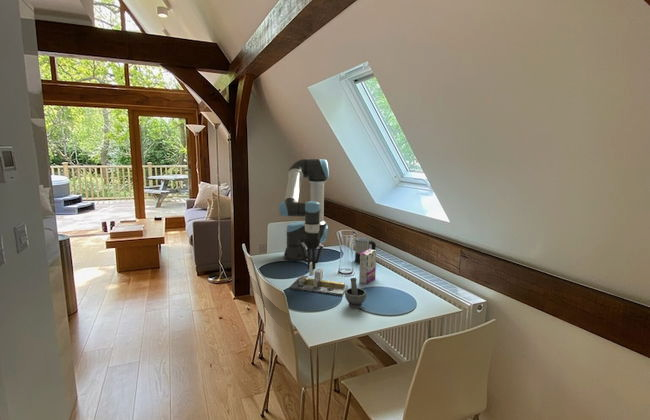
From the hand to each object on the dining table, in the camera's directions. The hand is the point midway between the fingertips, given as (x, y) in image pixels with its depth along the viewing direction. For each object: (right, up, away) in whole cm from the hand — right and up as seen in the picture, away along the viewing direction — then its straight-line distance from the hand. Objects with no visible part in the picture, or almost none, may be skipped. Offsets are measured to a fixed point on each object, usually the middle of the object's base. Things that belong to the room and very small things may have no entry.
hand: (311, 274), depth 185 cm
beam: (+5, -5, -3) cm, 7 cm away
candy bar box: (+31, -5, +9) cm, 32 cm away
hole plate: (+4, -6, -3) cm, 8 cm away
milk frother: (+31, +2, +45) cm, 55 cm away
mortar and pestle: (+21, -10, -22) cm, 32 cm away
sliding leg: (+3, -5, -2) cm, 6 cm away
